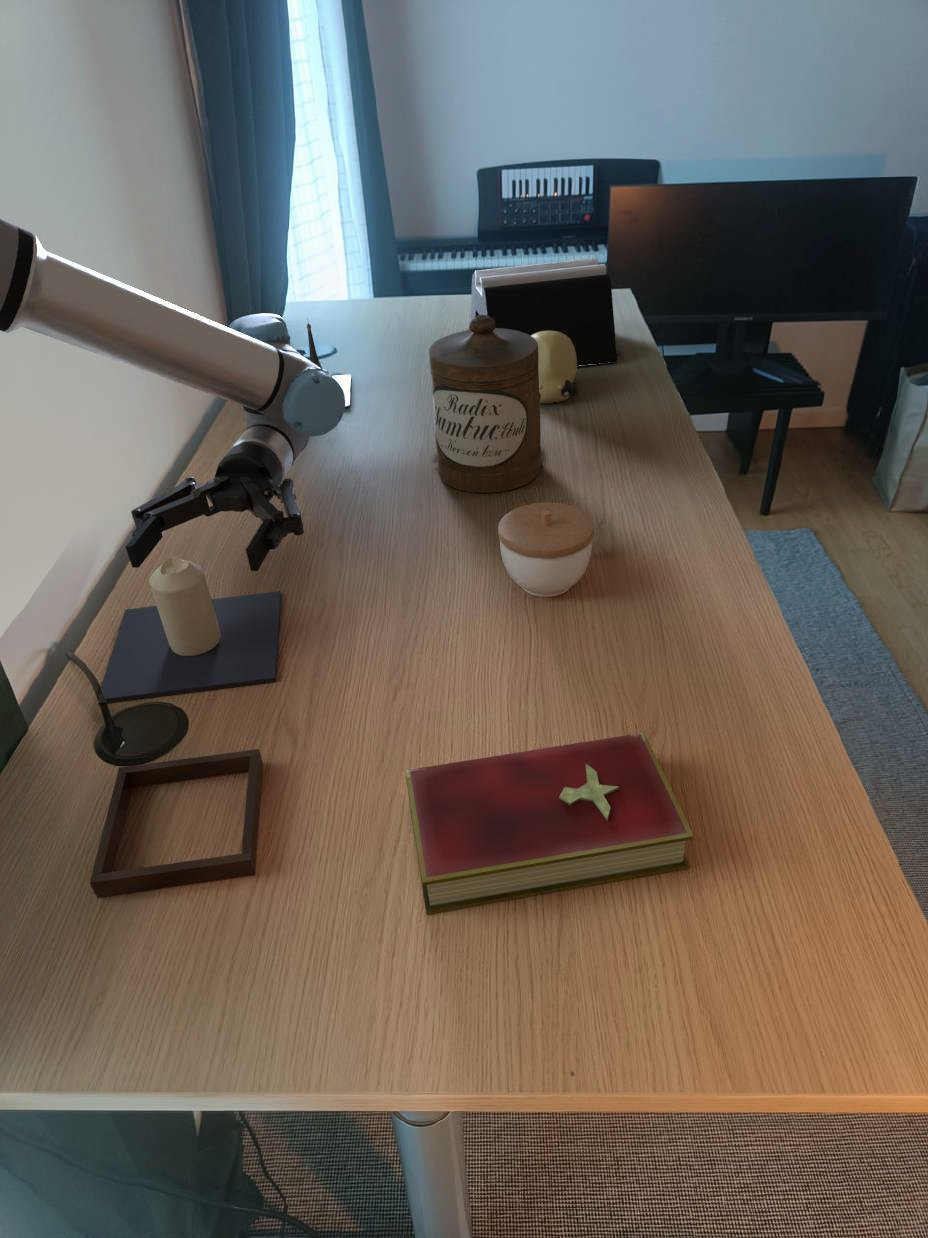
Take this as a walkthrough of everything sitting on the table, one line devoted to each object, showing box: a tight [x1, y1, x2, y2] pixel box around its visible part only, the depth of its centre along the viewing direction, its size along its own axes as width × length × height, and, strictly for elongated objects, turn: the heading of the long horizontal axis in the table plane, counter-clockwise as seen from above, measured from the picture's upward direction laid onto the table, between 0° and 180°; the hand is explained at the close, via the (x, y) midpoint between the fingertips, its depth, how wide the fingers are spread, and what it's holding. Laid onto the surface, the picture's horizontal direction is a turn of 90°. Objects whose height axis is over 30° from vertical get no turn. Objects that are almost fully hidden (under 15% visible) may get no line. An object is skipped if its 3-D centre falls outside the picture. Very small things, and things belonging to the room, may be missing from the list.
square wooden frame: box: [89, 748, 264, 899], centre depth 75 cm, size 13×13×2 cm
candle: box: [148, 556, 221, 656], centre depth 92 cm, size 6×6×10 cm
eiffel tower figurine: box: [306, 317, 352, 407], centre depth 148 cm, size 15×10×13 cm
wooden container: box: [428, 315, 542, 494], centre depth 119 cm, size 15×15×22 cm
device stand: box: [470, 257, 618, 366], centre depth 159 cm, size 22×22×15 cm
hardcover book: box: [404, 732, 695, 915], centre depth 71 cm, size 12×21×4 cm, turn 99°
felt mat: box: [100, 590, 282, 704], centre depth 96 cm, size 18×16×1 cm
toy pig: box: [531, 331, 578, 404], centre depth 144 cm, size 10×12×11 cm
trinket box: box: [497, 501, 595, 598], centre depth 99 cm, size 11×11×9 cm
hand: (191, 559), depth 94 cm, fingers open, 13 cm apart
